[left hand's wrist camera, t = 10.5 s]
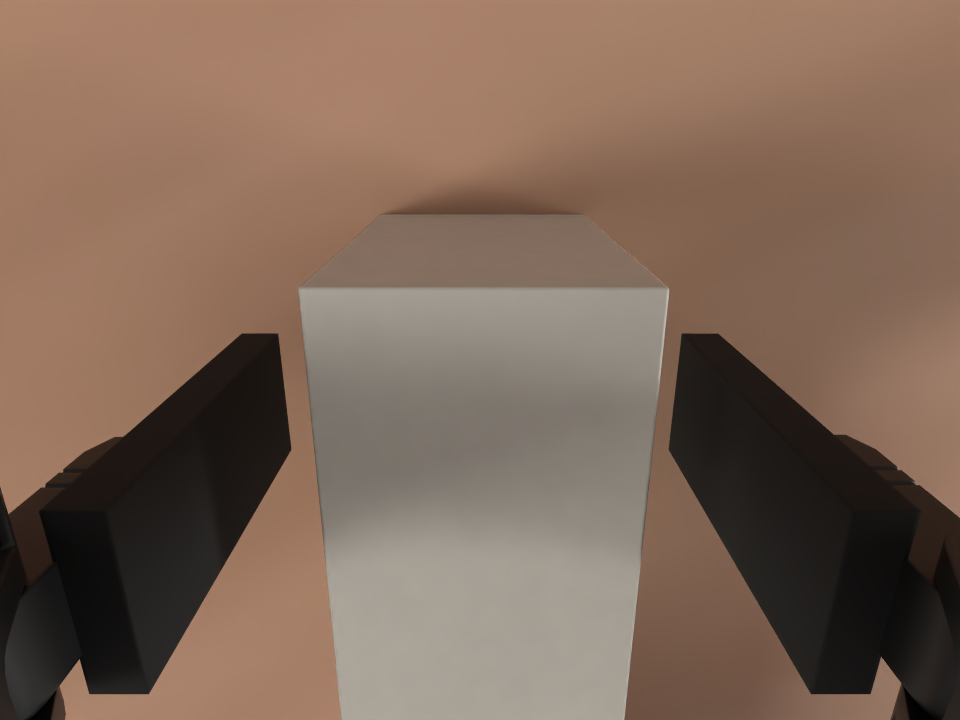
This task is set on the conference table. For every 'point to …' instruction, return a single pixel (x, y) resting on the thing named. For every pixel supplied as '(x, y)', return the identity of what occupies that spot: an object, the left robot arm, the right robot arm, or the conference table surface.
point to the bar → (483, 463)
